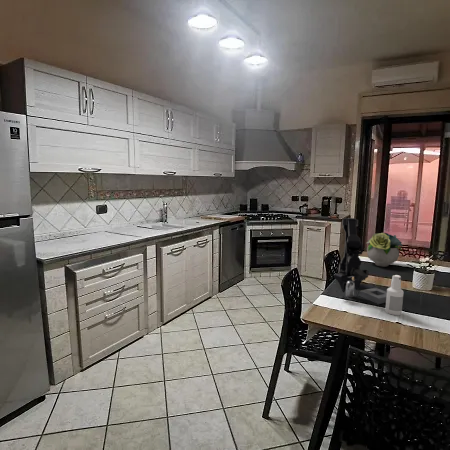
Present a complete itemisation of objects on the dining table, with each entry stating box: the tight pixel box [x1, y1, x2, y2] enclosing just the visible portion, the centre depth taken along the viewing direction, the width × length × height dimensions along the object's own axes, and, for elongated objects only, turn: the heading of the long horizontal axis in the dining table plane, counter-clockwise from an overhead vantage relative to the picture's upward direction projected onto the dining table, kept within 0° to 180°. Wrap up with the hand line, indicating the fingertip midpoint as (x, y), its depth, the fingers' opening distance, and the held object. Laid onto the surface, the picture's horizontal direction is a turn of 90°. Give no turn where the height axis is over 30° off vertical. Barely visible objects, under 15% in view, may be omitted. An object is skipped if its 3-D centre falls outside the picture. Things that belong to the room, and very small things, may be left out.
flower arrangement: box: [366, 232, 403, 268], centre depth 228 cm, size 25×25×24 cm
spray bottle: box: [384, 274, 404, 316], centre depth 146 cm, size 7×7×18 cm
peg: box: [345, 280, 355, 298], centre depth 168 cm, size 4×4×8 cm
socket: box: [358, 287, 387, 305], centre depth 165 cm, size 12×12×3 cm
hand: (350, 290), depth 168 cm, fingers open, 9 cm apart
